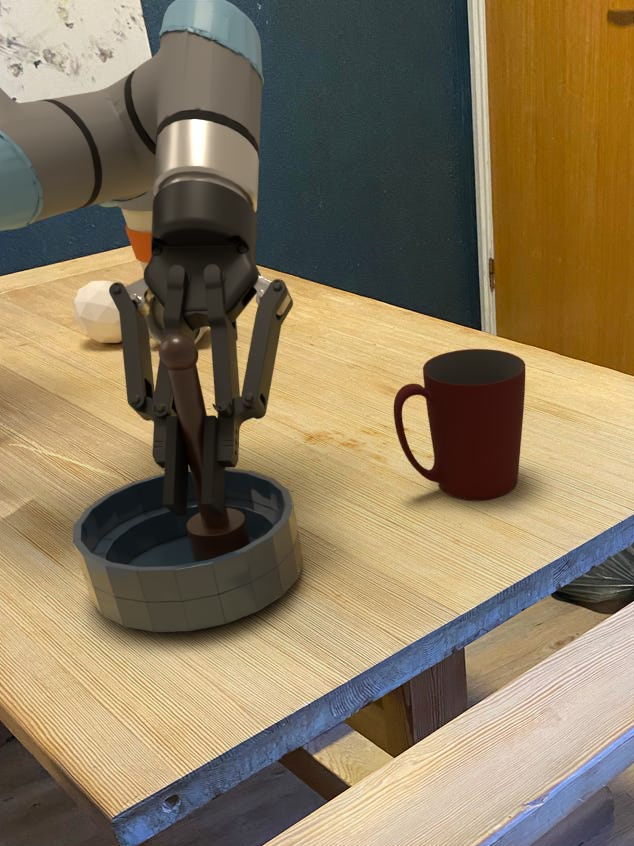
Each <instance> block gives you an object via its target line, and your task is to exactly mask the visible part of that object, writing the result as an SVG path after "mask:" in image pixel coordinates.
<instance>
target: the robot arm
mask: <svg viewBox="0 0 634 846" xmlns="http://www.w3.org/2000/svg"><path fill="white" fill-rule="evenodd" d="M252 21H253V20H251V18H250V17H248V15H246V14H245V12H243V11H242V10H240V9H239V8H238V7H237V6H236V5H235V4H233V3H231V1H227V0H174V1H172V2H171V3H170V4H169V5H168V6H167V9H166V11H165V12H164V16H163V20H162V24H161V30H160V31H159V33H158V35H159V37H158V41H159V49H158V51H157V53H156V54H155V55H153V56H152V57H150V58H149V59H147V60H145V61H144V62H143V63H141V64H140V65H139V66H137V67H136V68H135V69H134V70H132V71H131V72H130V73H128V74H127V75H125V76H124V77H122V78H120V79H119V80H117V81H115V82H114V83H112V84H110V85H109V86H107V87H104V88H102V89H100V90H95V91H90V92H84V93H83V92H81V93H78V94H71V95H65V96H60V97H54V98H48V99H47V98H45V99H44V98H43V99H39V100H34V101H26V102H17V101H15V100H14V99H12V97H10V96H9V95H8V94H7V93H6V91H4V90H3V88H1V87H0V232H3V231H7V230H8V231H9V230H19V229H23V228H26V227H27V226H29V225H30V224H33V223H35V222H38V221H42V220H45V219H48V218H51V217H54V216H59V215H60V214H61V215H62V214H64V213H68V212H71V211H74V210H79V209H86V208H89V207H92V206H95V205H97V206H100V207H103V208H114V207H118V205H120V204H122V203H125V202H128V201H130V200H132V199H139V198H140V197H142V196H144V195H145V194H146V193H147V191H148V190H150V189H152V188H154V195H155V197H154V200H153V212H152V231H151V258H150V261H149V263H148V265H147V266H146V268H145V270H144V271H143V277H142V278H140V279H138V280H136V281H134V282H132V283H130V284H129V285H126V286H125V284H123V283H122V282H120V281H118V282H117V281H116V282H114V283H113V284H112V285H111V286H110V288H109V293H110V295H111V297H112V299H113V301H114V303H115V305H116V307H117V309H118V311H119V315H120V326H121V336H122V341H121V347H122V355H123V357H122V358H123V367H124V378H125V390H126V400H127V404H128V405H129V406H130V407H131V409H133V411H134V412H135V413H136V414H137V415H138V416H139V417H140V418H141V419H142V420H143V421H147V422H150V421H151V422H153V434H152V453H151V454H152V458H153V461H154V463H155V464H156V465H158V467H160V468H161V469H164V471H163V473H164V489H163V506H165V507H166V508H167V509H168V510H170V511H171V512H172V513H173V514H175V515H176V516H187V493H188V470H189V469H190V468H189V463H188V459H187V455H186V450H185V446H184V442H183V437H182V433H181V429H180V424H179V420H178V416H177V411H176V407H175V403H174V398H173V394H172V390H171V385H170V381H169V377H168V372H167V368H166V367H165V366H164V365H163V364H162V362H161V360H160V359H158V360H159V361H158V365H157V366H158V367H157V373H156V380H155V382H154V369H153V361H152V359H153V358H152V351H151V350H152V349H151V341H150V339H151V338H150V339H149V330H148V325H147V322H146V319H145V317H144V316H147V315H148V314H149V299H150V298H151V296H153V295H154V296H155V297H156V299H157V300H158V301H159V303H160V304H161V305H162V307H163V308H164V314H163V323H164V334H163V339H164V338H165V337H166V336H168V335H170V334H175V333H178V334H183V335H186V336H188V337H189V338H190V339H192V340H193V342H195V338H196V331H197V329H198V328H202V327H208V328H209V331H210V347H211V361H212V362H211V363H212V376H213V377H212V378H213V393H214V403H212V405H211V406H212V408H213V409H214V410H215V411H216V413H217V416H216V415H215V414H214V415H213V414H212V415H207V416H205V417H204V443H203V468H202V493H201V505H202V506H203V507H205V508H206V509H207V510H208V511H209V512H210V513H211V514H212V515H223V512H224V484H225V468H236V467H237V465H238V463H239V454H240V430H241V427H242V425H243V424H244V422H246V421H250V420H251V419H254V420H255V419H256V420H260V419H263V418H264V417H265V416H266V413H267V409H268V404H269V398H270V393H271V391H270V390H271V387H272V381H273V376H274V371H275V363H276V358H277V354H278V353H277V352H278V347H279V342H280V335H281V328H282V325H283V324H284V321H285V320H286V318H287V317H288V315H289V313H290V312H291V310H292V308H293V306H294V300H293V298H292V296H291V293H290V291H289V289H288V287H287V284H286V283H285V281H284V280H283V279H280V278H275V279H273V280H269V279H267V278H265V277H264V276H262V274H261V272H260V271H259V269H258V266H257V242H258V239H257V238H258V215H257V211H258V199H259V197H258V196H259V177H260V176H259V174H260V173H259V172H260V140H261V139H260V138H261V119H262V118H261V115H262V93H263V88H264V85H265V84H264V83H265V78H264V75H263V61H262V44H261V38H260V35H259V32H258V30H257V27H256V26H255V24H254V23H253V22H252ZM254 297H255V302H256V305H257V308H256V312H255V317H254V322H253V328H252V333H251V338H250V344H249V350H248V355H247V361H246V366H245V372H244V378H243V384H242V389H240V377H239V376H240V375H239V361H238V348H237V341H238V340H239V339H238V325H237V319H238V318H239V317H240V315H242V313H243V311H244V310H246V308H247V306H248V305H249V304H250V303H251V301H252V300H253V299H254Z"/></svg>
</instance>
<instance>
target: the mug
mask: <svg viewBox="0 0 634 846" xmlns="http://www.w3.org/2000/svg"><path fill="white" fill-rule="evenodd" d="M422 376H423V385H421V384H418V383H408V384H407V383H406V384H405V385H403V386H401V388H399V389H398V390H397V392H396V394H395V397H394V400H393V422H394V427H395V430H396V431H395V432H396V435H397V439H398V442H399V444H400V446H401V449H402V451H403V453H404V455H405V457H406V459H407V461H408V462H409V464H410V465H411V466H412V467H413V468H414V470H416V472H418V474H419V475H421V476H422V477H424V478H425V479H426V480H428V481H430V482H433V483H437V484H438V486H439V489H441V491H442V492H444V493H446V494H447V495H449V496H451V497H454V498H458V499H463V500H473V501H475V500H476V501H477V500H489V499H494V498H498V497H501V496H504V495H506V494H508V493H510V492H511V491H512V490H514V489H515V488H516V486H517V485H518V480H519V471H520V460H521V459H520V458H521V448H522V447H521V446H522V434H523V423H524V409H525V397H526V394H525V393H526V362H525V361H524V359H522V358H521V357H520V356H518V355H516V354H513V353H511V352H507V351H503V350H498V349H488V348H468V349H458V350H454V351H448V352H445V353H444V352H443V353H441V354H438V355H436V356H433V357H432V358H430V359H428V360H427V361H426V362H425V363H424V364H423V366H422ZM414 396H421V397H423V398H424V399H425V405H426V410H427V417H428V418H427V420H428V424H429V431H430V439H431V445H432V452H433V465H432V467H431V468H430V469H427V468H425V467H424V466H422V464H420V463H419V461H418V460H417V459H416V457H415V456H414V453H413V452H412V450H411V447H410V445H409V442H408V439H407V435H406V433H405V427H404V421H403V407H404V404H405V403H406V401H407V400H408V399H409V398H411V397H414Z"/></svg>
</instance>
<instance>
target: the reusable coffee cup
mask: <svg viewBox="0 0 634 846" xmlns="http://www.w3.org/2000/svg"><path fill="white" fill-rule="evenodd" d="M154 197H155V195H154V188H152V189H150V190H148V191H147V193H146V194H145V195H144V196H142V197H140V198H139V199H132V200H130V201H128V202H125V203H122V204H120V205H118V206H117V207H118V208H119V209H121V212H122V215H123V217H124V220H125V223H126V225H124V229H125V233H126V234H127V237H128V241H129V243H130V246H131V248H132V251H133V254H134V257H135V259H136V260H137V261H138V262H140V264H141V268H142V271H143V272H144V270H145V268H146V266H147V265H148V263H149V261H150V258H151V231H152V212H153V200H154Z"/></svg>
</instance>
